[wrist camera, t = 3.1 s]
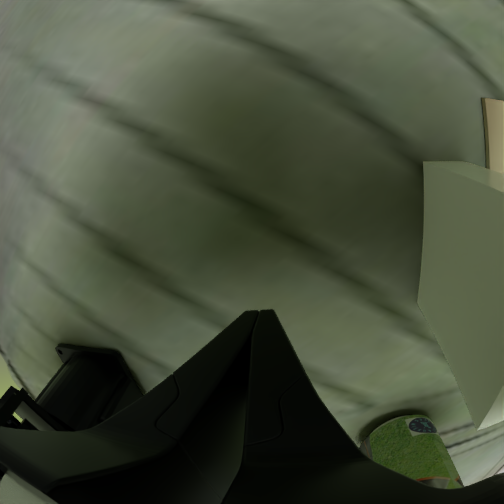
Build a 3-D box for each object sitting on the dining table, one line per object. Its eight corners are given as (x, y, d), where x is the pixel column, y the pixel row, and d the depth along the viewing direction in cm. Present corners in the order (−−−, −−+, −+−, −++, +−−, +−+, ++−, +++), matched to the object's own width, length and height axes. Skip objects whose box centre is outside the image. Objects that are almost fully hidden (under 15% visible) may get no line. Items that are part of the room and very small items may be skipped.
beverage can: (340, 440, 19) (339, 581, 8) (413, 386, 16) (448, 556, 5) (392, 453, 19) (403, 571, 8) (458, 406, 16) (495, 536, 5)
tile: (416, 303, 13) (476, 430, 6) (422, 161, 11) (555, 219, 3) (455, 296, 13) (525, 410, 6) (466, 161, 10) (599, 215, 3)
